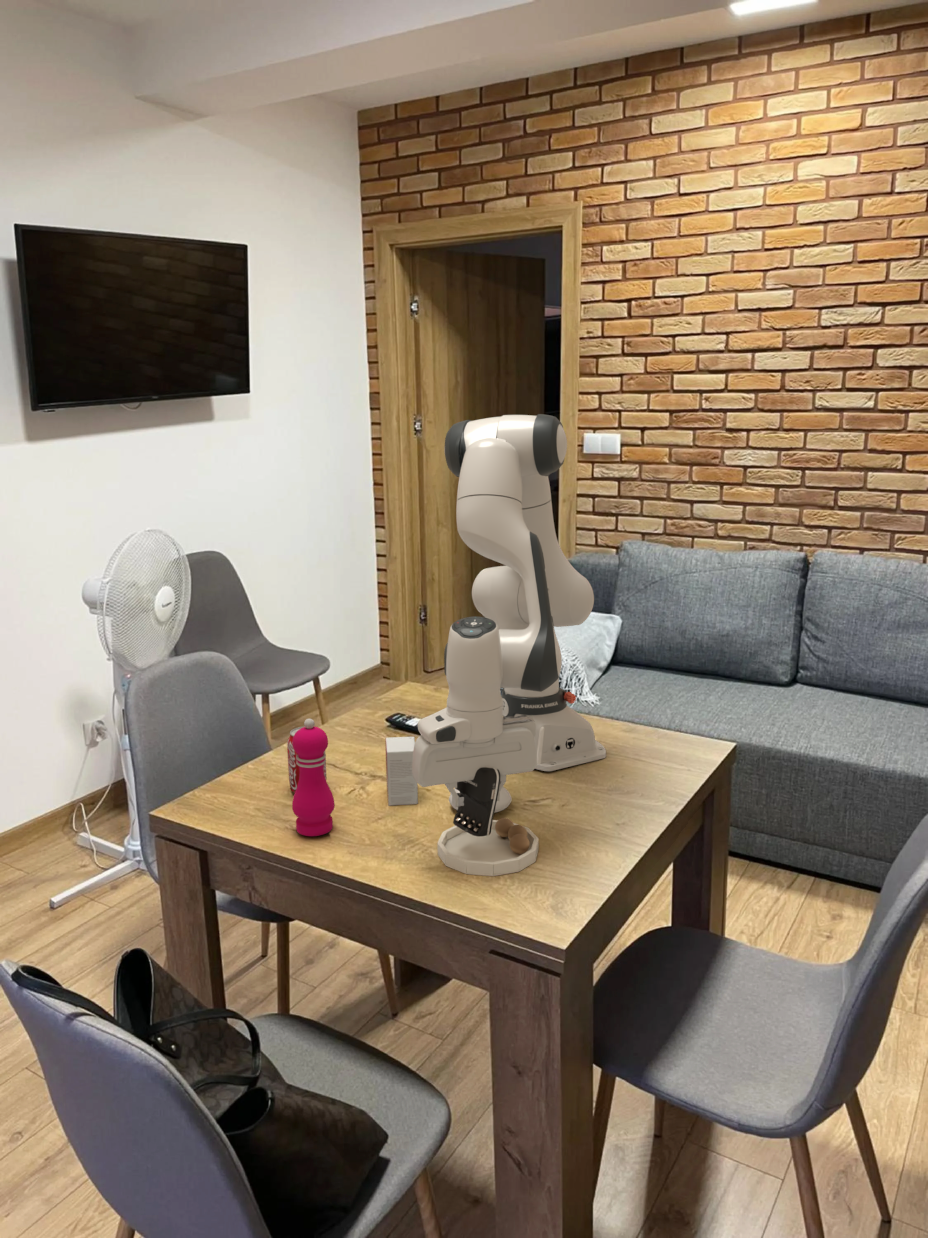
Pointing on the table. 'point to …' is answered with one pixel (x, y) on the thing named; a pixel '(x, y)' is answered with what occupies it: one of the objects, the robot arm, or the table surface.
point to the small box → (400, 771)
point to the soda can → (292, 764)
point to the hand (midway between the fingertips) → (475, 803)
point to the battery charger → (478, 802)
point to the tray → (484, 852)
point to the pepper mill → (312, 782)
